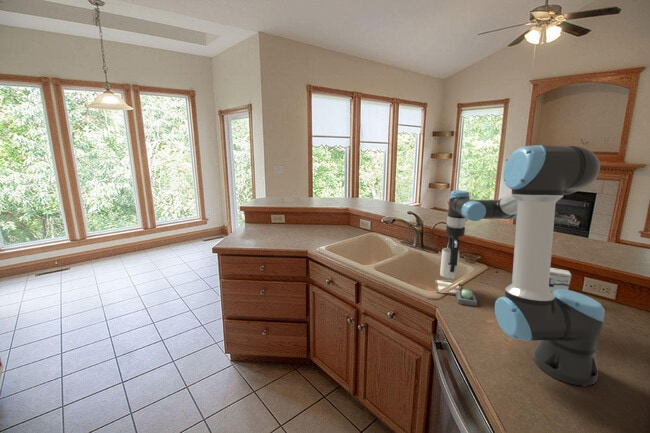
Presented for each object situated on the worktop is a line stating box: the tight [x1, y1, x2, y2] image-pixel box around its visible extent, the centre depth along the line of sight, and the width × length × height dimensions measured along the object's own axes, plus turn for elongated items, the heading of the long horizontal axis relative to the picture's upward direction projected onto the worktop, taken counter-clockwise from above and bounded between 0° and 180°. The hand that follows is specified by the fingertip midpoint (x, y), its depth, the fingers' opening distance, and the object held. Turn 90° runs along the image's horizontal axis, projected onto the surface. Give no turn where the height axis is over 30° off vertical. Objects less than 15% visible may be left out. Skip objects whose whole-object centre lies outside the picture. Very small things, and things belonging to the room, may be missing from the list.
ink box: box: [549, 267, 572, 294], centre depth 132 cm, size 9×5×12 cm, turn 62°
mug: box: [439, 247, 460, 279], centre depth 137 cm, size 10×7×12 cm, turn 118°
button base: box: [455, 291, 478, 307], centre depth 128 cm, size 7×7×2 cm
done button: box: [461, 288, 473, 300], centre depth 127 cm, size 4×4×3 cm
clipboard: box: [434, 279, 463, 297], centre depth 139 cm, size 13×11×1 cm
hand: (449, 274), depth 137 cm, fingers closed on mug, 7 cm apart
